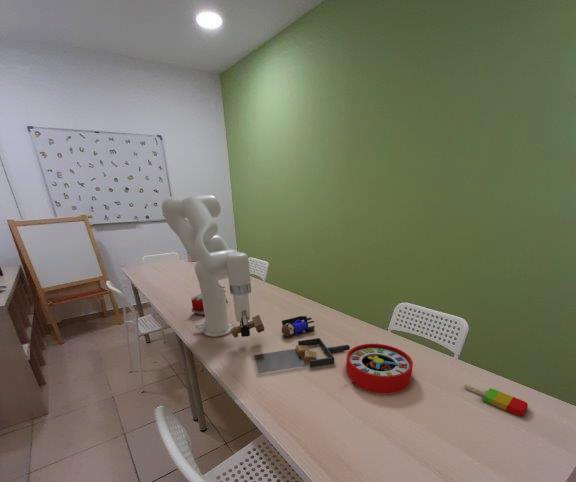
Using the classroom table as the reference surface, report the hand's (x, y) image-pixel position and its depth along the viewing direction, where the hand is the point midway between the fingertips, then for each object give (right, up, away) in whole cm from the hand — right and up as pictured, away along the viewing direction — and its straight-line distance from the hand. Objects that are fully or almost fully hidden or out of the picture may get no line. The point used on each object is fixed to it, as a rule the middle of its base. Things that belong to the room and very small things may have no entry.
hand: (245, 334), depth 114 cm
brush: (+1, +1, 0) cm, 2 cm away
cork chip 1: (+21, -7, -5) cm, 23 cm away
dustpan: (+30, -7, -5) cm, 32 cm away
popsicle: (+74, -17, -30) cm, 81 cm away
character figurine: (+20, -1, +11) cm, 23 cm away
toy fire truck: (-23, +10, +39) cm, 47 cm away
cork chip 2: (+24, -9, -9) cm, 27 cm away
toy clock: (+45, -12, -17) cm, 50 cm away
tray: (+13, -9, -9) cm, 18 cm away
